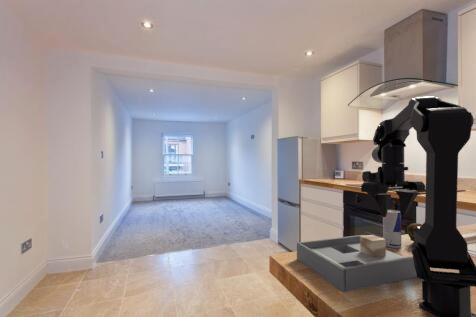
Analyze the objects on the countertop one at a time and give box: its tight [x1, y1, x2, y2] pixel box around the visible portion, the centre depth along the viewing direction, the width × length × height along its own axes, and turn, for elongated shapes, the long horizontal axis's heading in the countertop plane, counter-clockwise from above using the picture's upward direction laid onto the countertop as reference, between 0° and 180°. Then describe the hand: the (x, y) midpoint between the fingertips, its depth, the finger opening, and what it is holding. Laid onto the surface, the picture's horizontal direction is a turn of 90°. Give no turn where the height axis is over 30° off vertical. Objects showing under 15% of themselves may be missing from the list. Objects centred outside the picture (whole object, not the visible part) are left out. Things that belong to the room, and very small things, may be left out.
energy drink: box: [382, 209, 402, 249], centre depth 85 cm, size 5×5×12 cm
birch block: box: [360, 234, 387, 257], centre depth 70 cm, size 4×4×4 cm
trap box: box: [296, 234, 418, 293], centre depth 68 cm, size 20×25×5 cm
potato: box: [406, 222, 423, 242], centre depth 85 cm, size 8×13×8 cm, turn 114°
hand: (393, 215), depth 73 cm, fingers open, 7 cm apart
